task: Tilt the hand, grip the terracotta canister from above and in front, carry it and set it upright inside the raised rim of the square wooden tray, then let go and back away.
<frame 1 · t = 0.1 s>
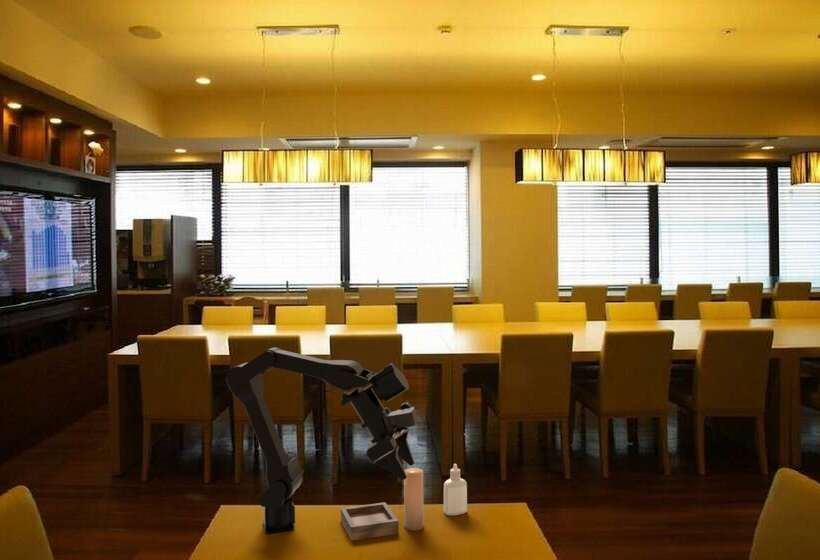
hand: (408, 471, 142), 15 cm above the table, tool tilted 35°, fingers open, 9 cm apart
terracotta canister: (413, 526, 148), on the table
square wooden tray: (369, 526, 147), on the table
eye dropper bottle: (455, 513, 155), on the table
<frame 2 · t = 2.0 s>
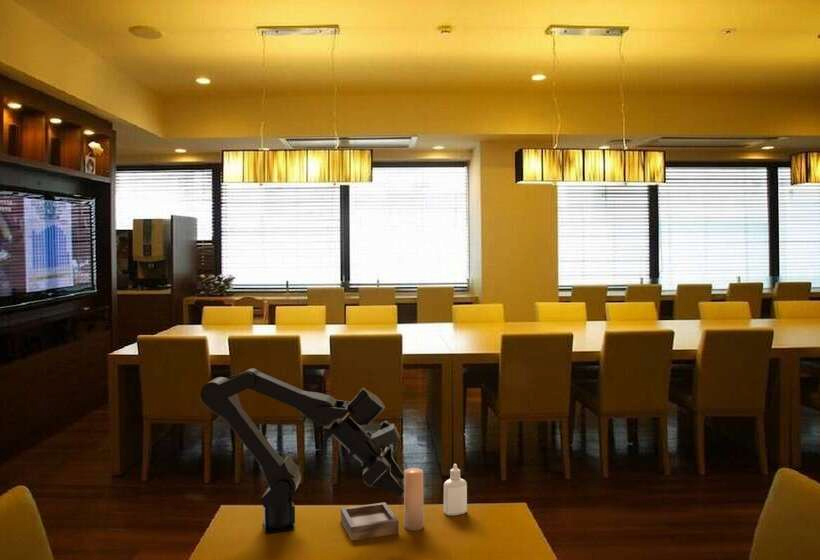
hand: (402, 485, 147), 10 cm above the table, tool tilted 45°, fingers open, 9 cm apart
nothing on the table moved.
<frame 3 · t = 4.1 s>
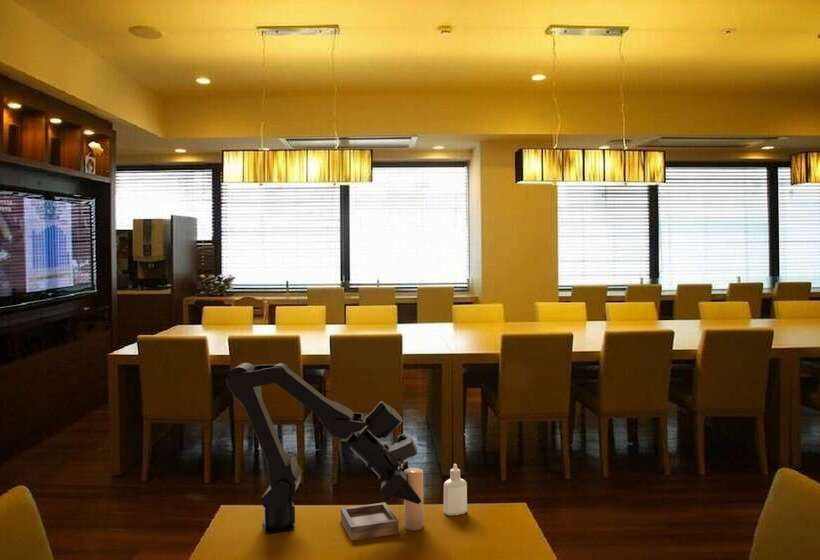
hand: (419, 498, 147), 7 cm above the table, tool tilted 45°, fingers closed on terracotta canister, 4 cm apart
terracotta canister: (414, 526, 148), on the table, touching gripper
everything else where it was.
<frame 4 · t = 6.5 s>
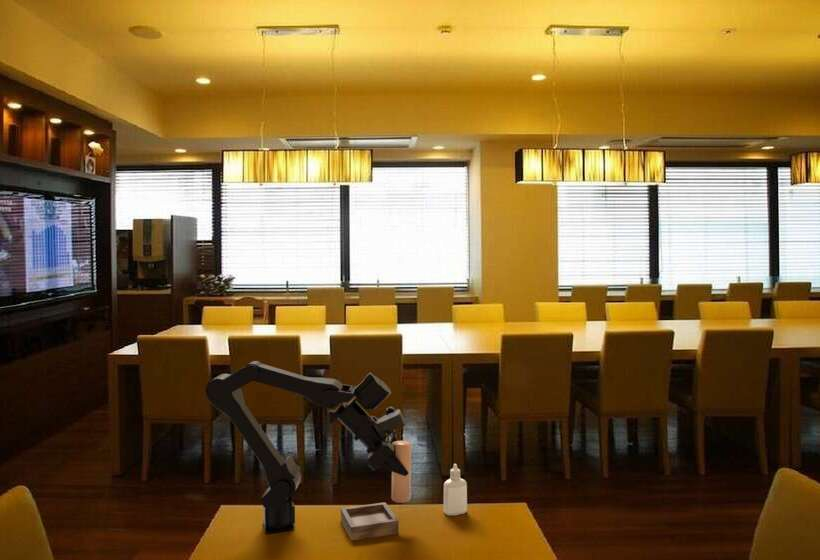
hand: (407, 471, 147), 13 cm above the table, tool tilted 45°, fingers closed on terracotta canister, 4 cm apart
terracotta canister: (401, 498, 147), point 7 cm above the table, touching gripper
everything else where it was.
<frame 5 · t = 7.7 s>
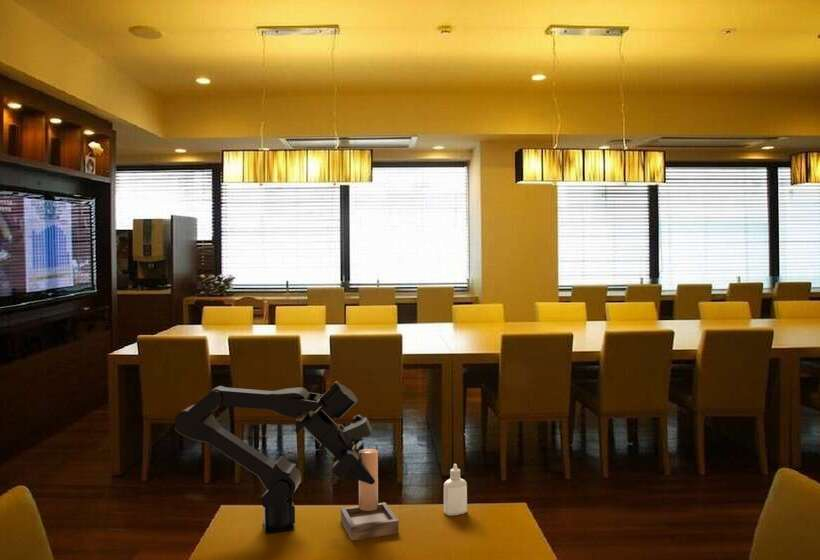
hand: (374, 479, 147), 11 cm above the table, tool tilted 45°, fingers closed on terracotta canister, 4 cm apart
terracotta canister: (368, 506, 147), point 5 cm above the table, touching gripper
everything else where it was.
when the fingers open (9 cm above the table, at t = 8.8 s): terracotta canister drops 1 cm, resting on square wooden tray.
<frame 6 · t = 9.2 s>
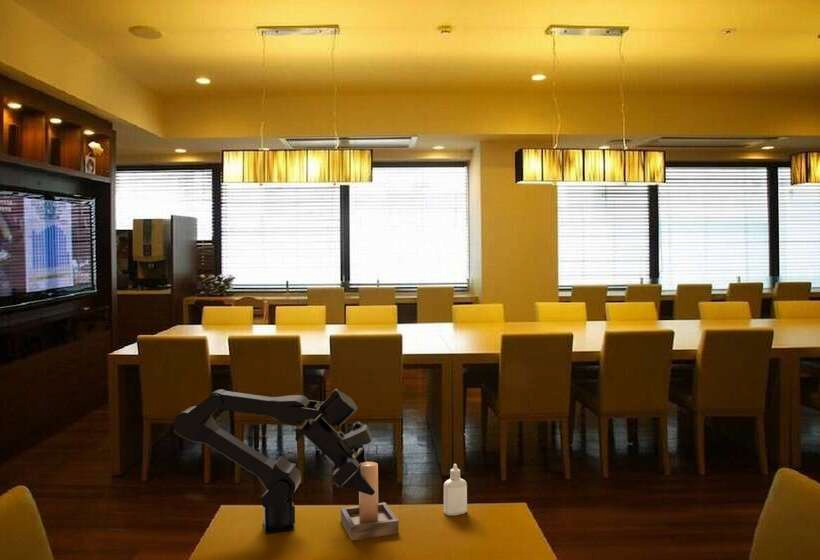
hand: (374, 486, 147), 10 cm above the table, tool tilted 45°, fingers open, 9 cm apart
terracotta canister: (368, 520, 147), point 2 cm above the table, touching square wooden tray
everything else where it was.
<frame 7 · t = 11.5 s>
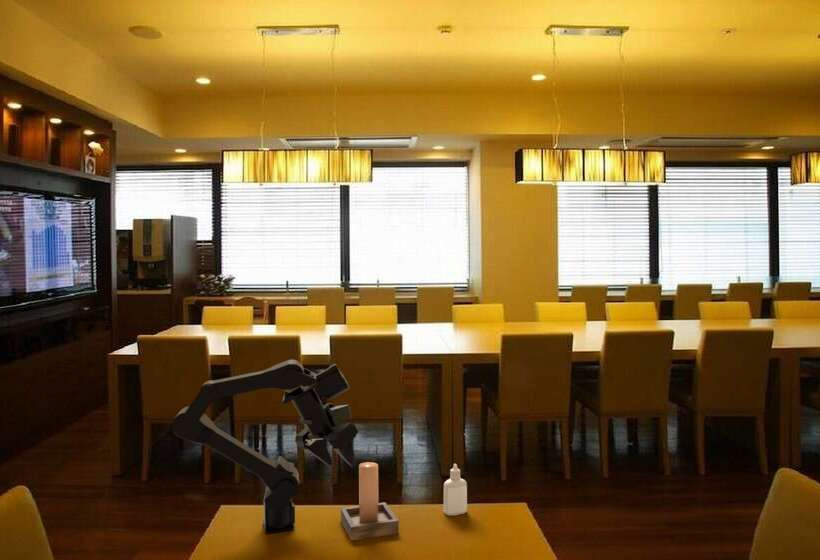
hand: (342, 465, 151), 13 cm above the table, tool tilted 25°, fingers open, 9 cm apart
nothing on the table moved.
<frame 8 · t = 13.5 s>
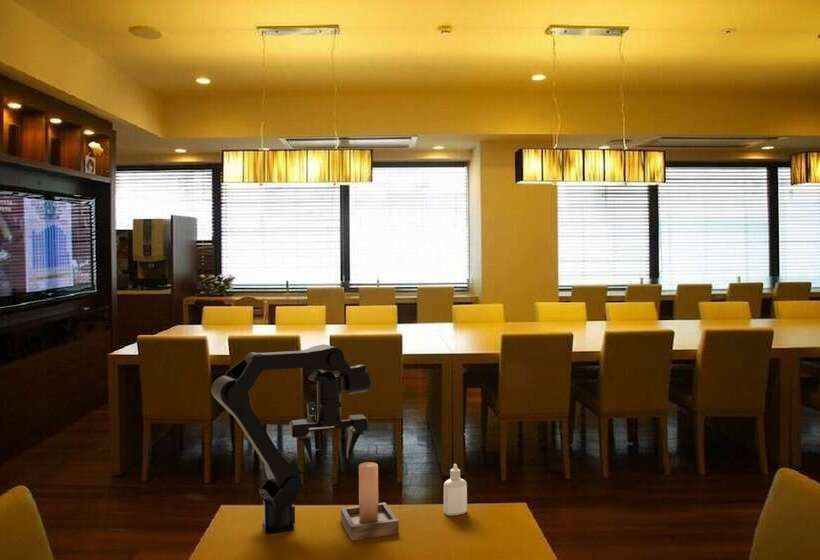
hand: (329, 460, 155), 13 cm above the table, tool pointing down, fingers open, 9 cm apart
nothing on the table moved.
at the end: terracotta canister 0.1 cm off-centre on the square wooden tray, point 1.5 cm above the square wooden tray's base; terracotta canister tilted 0°; the gripper is holding nothing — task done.
